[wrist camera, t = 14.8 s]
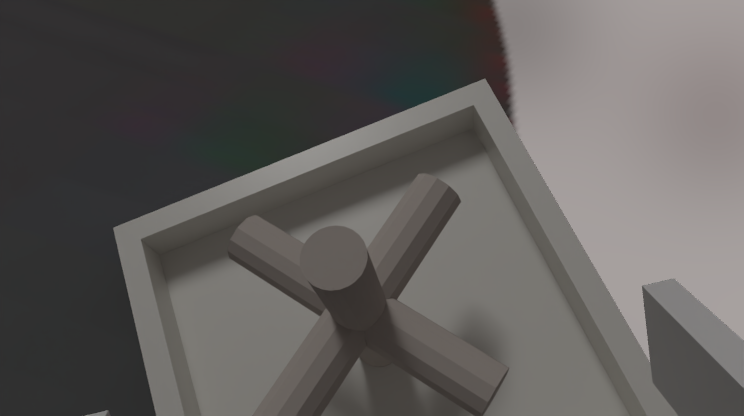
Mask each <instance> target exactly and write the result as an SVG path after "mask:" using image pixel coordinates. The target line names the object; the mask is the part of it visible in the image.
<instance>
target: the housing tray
mask: <svg viewBox="0 0 744 416" xmlns="http://www.w3.org/2000/svg"><path fill="white" fill-rule="evenodd" d="M418 174H429V175H431V176H434V177H436V178H438V179H440V180H441V181H443V182H444V183H446V184H447V185H449V186H450V187H451V188H452V189H453V190H454V191H455V192H456V193H457V194H458V196H459V198H460V200H461V203H460V204H459V206H458V207H457V209H456V210H455V212H454V213H453V215H452V216H451V218H450V219H449V221H448V222H447V224H446V226H445V227H444V229H443V230H442V232H441V233H440V235H439V236H438V238H437V239H436V241H435V242H434V244H433V245H432V247H431V248H430V250H429V251H428V253H427V254H426V256H425V258H424V259H423V261H422V262H421V264H420V265H419V267H418V268H417V270H416V271H415V273H414V274H413V276H412V277H411V279H410V280H409V282H408V283H407V285H406V287H405V288H404V290H403V291H402V293H401V294H400V296H399V297H398V299H397V300H398V301H400V302H402V303H403V304H405V305H406V306H408V307H410V308H411V309H413V310H415V311H416V312H418V313H420V314H421V315H423V316H425V317H426V318H428V319H430V320H431V321H433V322H435V323H436V324H438V325H440V326H441V327H443V328H444V329H446V330H448V331H449V332H451V333H453V334H454V335H456V336H458V337H459V338H461V339H463V340H464V341H466V342H468V343H469V344H471V345H473V346H474V347H476V348H478V349H479V350H481V351H483V352H484V353H486V354H487V355H489V356H491V357H492V358H494V359H496V360H497V361H499V362H501V363H502V364H504V365H506V366H507V367H509V371H508V373H507V375H506V377H505V379H504V381H503V383H502V384H501V386H500V388H499V390H498V392H497V393H496V395H495V397H494V399H493V400H492V402H491V404H490V405H489V407H488V409H487V410H486V412H485V413H484V415H483V416H678V415H677V413H676V412H675V411H674V409H673V408H672V407H671V406H670V404H669V403H668V402H667V401H666V399H665V398H664V397H663V395H662V394H661V393H660V392H659V390H658V389H657V388H656V386H655V385H654V384H653V381H652V372H651V364H650V362H649V360H648V359H647V357H646V355H645V354H644V352H643V350H642V348H641V347H640V345H639V343H638V341H637V340H636V338H635V336H634V335H633V333H632V331H631V329H630V328H629V326H628V324H627V322H626V321H625V319H624V317H623V316H622V314H621V312H620V310H619V309H618V307H617V305H616V303H615V302H614V300H613V298H612V297H611V295H610V293H609V291H608V290H607V288H606V286H605V285H604V283H603V281H602V279H601V278H600V276H599V274H598V273H597V271H596V269H595V267H594V266H593V264H592V262H591V260H590V259H589V257H588V255H587V254H586V252H585V250H584V248H583V247H582V245H581V243H580V242H579V240H578V238H577V236H576V235H575V233H574V231H573V229H572V228H571V226H570V224H569V222H568V221H567V219H566V217H565V216H564V214H563V212H562V210H561V209H560V207H559V205H558V203H557V202H556V200H555V198H554V197H553V195H552V193H551V191H550V190H549V188H548V186H547V185H546V183H545V181H544V179H543V178H542V176H541V174H540V172H539V171H538V169H537V167H536V166H535V164H534V162H533V161H532V159H531V157H530V155H529V154H528V152H527V150H526V149H525V147H524V145H523V143H522V141H521V140H520V138H519V136H518V135H517V133H516V131H515V129H514V128H513V126H512V124H511V123H510V121H509V119H508V117H507V116H506V114H505V112H504V110H503V109H502V107H501V105H500V104H499V102H498V100H497V98H496V97H495V95H494V93H493V92H492V90H491V88H490V86H489V85H488V83H487V81H486V79H483V80H480V81H478V82H475V83H473V84H470V85H468V86H466V87H463V88H461V89H458V90H456V91H453V92H451V93H448V94H446V95H443V96H441V97H438V98H436V99H433V100H431V101H428V102H426V103H423V104H421V105H418V106H416V107H413V108H411V109H408V110H406V111H403V112H401V113H398V114H396V115H393V116H391V117H388V118H386V119H383V120H381V121H378V122H376V123H373V124H371V125H368V126H366V127H363V128H361V129H358V130H356V131H353V132H351V133H348V134H346V135H343V136H341V137H338V138H336V139H333V140H331V141H328V142H326V143H323V144H321V145H318V146H316V147H313V148H311V149H308V150H306V151H304V152H301V153H299V154H296V155H294V156H291V157H289V158H286V159H284V160H281V161H279V162H276V163H274V164H271V165H269V166H266V167H264V168H261V169H259V170H256V171H254V172H251V173H249V174H246V175H244V176H241V177H239V178H236V179H234V180H231V181H229V182H226V183H224V184H221V185H219V186H216V187H214V188H211V189H209V190H206V191H204V192H201V193H199V194H196V195H194V196H191V197H189V198H186V199H184V200H181V201H179V202H176V203H174V204H171V205H169V206H166V207H164V208H161V209H159V210H156V211H154V212H151V213H149V214H147V215H144V216H142V217H139V218H137V219H134V220H132V221H129V222H127V223H124V224H122V225H119V226H117V227H114V228H113V229H114V234H115V238H116V242H117V247H118V251H119V255H120V260H121V264H122V268H123V273H124V277H125V281H126V286H127V290H128V295H129V299H130V303H131V308H132V312H133V316H134V321H135V325H136V329H137V334H138V338H139V342H140V347H141V351H142V355H143V360H144V364H145V368H146V373H147V377H148V381H149V386H150V390H151V395H152V399H153V403H154V408H155V412H156V416H252V415H253V414H254V412H255V411H256V409H257V408H258V406H259V405H260V403H261V402H262V400H263V399H264V398H265V396H266V395H267V393H268V392H269V390H270V389H271V387H272V386H273V384H274V383H275V382H276V380H277V379H278V377H279V376H280V374H281V373H282V371H283V370H284V368H285V367H286V366H287V364H288V363H289V361H290V360H291V358H292V357H293V355H294V354H295V352H296V351H297V350H298V348H299V347H300V345H301V344H302V342H303V341H304V339H305V338H306V337H307V335H308V334H309V332H310V331H311V329H312V328H313V326H314V325H315V323H316V322H317V321H318V319H319V318H320V316H318V315H317V314H315V313H314V312H312V311H311V310H309V309H308V308H306V307H305V306H303V305H301V304H300V303H298V302H297V301H295V300H294V299H292V298H291V297H289V296H287V295H286V294H284V293H283V292H281V291H280V290H278V289H277V288H275V287H273V286H272V285H270V284H269V283H267V282H266V281H264V280H263V279H261V278H259V277H258V276H256V275H255V274H253V273H252V272H250V271H249V270H247V269H245V268H244V267H242V266H241V265H239V264H238V263H236V262H235V261H233V260H231V259H230V258H229V255H228V251H227V250H228V246H229V242H230V239H231V237H232V236H233V234H234V232H235V230H236V229H237V227H238V226H239V225H240V224H241V223H242V222H243V221H244V220H245V219H246V218H248V217H251V216H253V215H257V216H259V217H261V218H263V219H264V220H266V221H268V222H269V223H271V224H273V225H274V226H276V227H278V228H279V229H281V230H283V231H284V232H286V233H287V234H289V235H291V236H292V237H294V238H296V239H297V240H299V241H301V242H302V243H304V244H305V242H306V240H307V239H308V238H309V237H310V236H311V235H312V234H313V233H315V232H316V231H318V230H319V229H322V228H325V227H328V226H336V225H337V226H344V227H347V228H349V229H352V230H354V231H355V232H356V233H357V234H359V235H360V237H361V238H362V239H363V241H364V242H365V245H366V248H368V246H369V245H370V244H371V242H372V241H373V239H374V238H375V236H376V235H377V233H378V232H379V230H380V229H381V228H382V226H383V225H384V223H385V222H386V220H387V219H388V217H389V216H390V214H391V213H392V212H393V210H394V209H395V207H396V206H397V204H398V203H399V201H400V200H401V199H402V197H403V196H404V194H405V193H406V191H407V190H408V188H409V187H410V185H411V184H412V183H413V181H414V180H415V178H416V177H417V175H418ZM321 416H474V415H472V414H471V413H469V412H468V411H466V410H465V409H463V408H462V407H460V406H458V405H457V404H455V403H454V402H452V401H451V400H449V399H448V398H446V397H444V396H443V395H441V394H440V393H438V392H437V391H435V390H434V389H432V388H430V387H429V386H427V385H426V384H424V383H423V382H421V381H420V380H418V379H416V378H415V377H413V376H412V375H410V374H409V373H407V372H406V371H404V370H402V369H401V368H399V367H398V366H396V365H395V364H393V363H391V364H389V365H387V366H384V367H373V366H370V365H368V364H366V363H365V362H364V361H363V360H362V359H361V358H360V357H359V358H358V360H357V361H356V363H355V364H354V366H353V367H352V369H351V370H350V372H349V373H348V375H347V376H346V378H345V379H344V381H343V383H342V384H341V386H340V387H339V389H338V390H337V392H336V393H335V395H334V396H333V398H332V399H331V401H330V402H329V404H328V405H327V407H326V408H325V410H324V411H323V413H322V415H321Z"/></svg>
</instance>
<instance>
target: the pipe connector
mask: <svg viewBox="0 0 744 416" xmlns="http://www.w3.org/2000/svg"><path fill="white" fill-rule="evenodd" d="M460 203H461V200H460V198H459V196H458V194H457V193H456V192H455V191H454V190H453V189H452V188H451V187H450V186H449V185H447V184H446V183H444V182H443V181H441V180H440V179H438V178H436V177H434V176H431V175H429V174H418V175H417V177H416V178H415V180H414V181H413V183H412V184H411V185H410V187H409V188H408V190H407V191H406V193H405V194H404V196H403V197H402V199H401V200H400V201H399V203H398V204H397V206H396V207H395V209H394V210H393V212H392V213H391V214H390V216H389V217H388V219H387V220H386V222H385V223H384V225H383V226H382V228H381V229H380V230H379V232H378V233H377V235H376V236H375V238H374V239H373V241H372V242H371V244H370V245H369V246H368V248H366V245H365V242H364V241H363V239H362V238H361V237H360V235H359V234H357V233H356V232H355V231H354V230H352V229H349V228H347V227H344V226H337V225H336V226H328V227H325V228H322V229H319V230H318V231H316V232H315V233H313V234H312V235H311V236H310V237H309V238H308V239H307V240H306V242H305V244H304V243H302V242H301V241H299V240H297V239H296V238H294V237H292V236H291V235H289V234H287V233H286V232H284V231H283V230H281V229H279V228H278V227H276V226H274V225H273V224H271V223H269V222H268V221H266V220H264V219H263V218H261V217H259V216H257V215H253V216H251V217H248V218H246V219H245V220H244V221H243V222H242V223H241V224H240V225H239V226H238V227H237V229H236V230H235V232H234V234H233V236H232V237H231V239H230V242H229V246H228V250H227V251H228V255H229V258H230V259H231V260H233V261H235V262H236V263H238V264H239V265H241V266H242V267H244V268H245V269H247V270H249V271H250V272H252V273H253V274H255V275H256V276H258V277H259V278H261V279H263V280H264V281H266V282H267V283H269V284H270V285H272V286H273V287H275V288H277V289H278V290H280V291H281V292H283V293H284V294H286V295H287V296H289V297H291V298H292V299H294V300H295V301H297V302H298V303H300V304H301V305H303V306H305V307H306V308H308V309H309V310H311V311H312V312H314V313H315V314H317V315H318V316H320V318H319V319H318V321H317V322H316V323H315V325H314V326H313V328H312V329H311V331H310V332H309V334H308V335H307V337H306V338H305V339H304V341H303V342H302V344H301V345H300V347H299V348H298V350H297V351H296V352H295V354H294V355H293V357H292V358H291V360H290V361H289V363H288V364H287V366H286V367H285V368H284V370H283V371H282V373H281V374H280V376H279V377H278V379H277V380H276V382H275V383H274V384H273V386H272V387H271V389H270V390H269V392H268V393H267V395H266V396H265V398H264V399H263V400H262V402H261V403H260V405H259V406H258V408H257V409H256V411H255V412H254V414H253V415H252V416H321V415H322V413H323V411H324V410H325V408H326V407H327V405H328V404H329V402H330V401H331V399H332V398H333V396H334V395H335V393H336V392H337V390H338V389H339V387H340V386H341V384H342V383H343V381H344V379H345V378H346V376H347V375H348V373H349V372H350V370H351V369H352V367H353V366H354V364H355V363H356V361H357V360H358V358H359V357H360V358H361V359H362V360H363V361H364V362H365V363H366V364H368V365H370V366H373V367H384V366H387V365H389V364H391V363H393V364H395V365H396V366H398V367H399V368H401V369H402V370H404V371H406V372H407V373H409V374H410V375H412V376H413V377H415V378H416V379H418V380H420V381H421V382H423V383H424V384H426V385H427V386H429V387H430V388H432V389H434V390H435V391H437V392H438V393H440V394H441V395H443V396H444V397H446V398H448V399H449V400H451V401H452V402H454V403H455V404H457V405H458V406H460V407H462V408H463V409H465V410H466V411H468V412H469V413H471V414H472V415H474V416H483V415H484V413H485V412H486V410H487V409H488V407H489V405H490V404H491V402H492V400H493V399H494V397H495V395H496V393H497V392H498V390H499V388H500V386H501V384H502V383H503V381H504V379H505V377H506V375H507V373H508V371H509V367H507V366H506V365H504V364H502V363H501V362H499V361H497V360H496V359H494V358H492V357H491V356H489V355H487V354H486V353H484V352H483V351H481V350H479V349H478V348H476V347H474V346H473V345H471V344H469V343H468V342H466V341H464V340H463V339H461V338H459V337H458V336H456V335H454V334H453V333H451V332H449V331H448V330H446V329H444V328H443V327H441V326H440V325H438V324H436V323H435V322H433V321H431V320H430V319H428V318H426V317H425V316H423V315H421V314H420V313H418V312H416V311H415V310H413V309H411V308H410V307H408V306H406V305H405V304H403V303H402V302H400V301H398V300H397V299H398V297H399V296H400V294H401V293H402V291H403V290H404V288H405V287H406V285H407V283H408V282H409V280H410V279H411V277H412V276H413V274H414V273H415V271H416V270H417V268H418V267H419V265H420V264H421V262H422V261H423V259H424V258H425V256H426V254H427V253H428V251H429V250H430V248H431V247H432V245H433V244H434V242H435V241H436V239H437V238H438V236H439V235H440V233H441V232H442V230H443V229H444V227H445V226H446V224H447V222H448V221H449V219H450V218H451V216H452V215H453V213H454V212H455V210H456V209H457V207H458V206H459V204H460Z"/></svg>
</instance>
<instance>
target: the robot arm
mask: <svg viewBox="0 0 744 416" xmlns="http://www.w3.org/2000/svg"><path fill="white" fill-rule="evenodd" d="M642 289H643V298H644V307H645V317H646V326H647V335H648V345H649V354H650V363H651V372H652V381H653V384H654V385H655V386H656V388H657V389H658V390H659V392H660V393H661V394H662V395H663V397H664V398H665V399H666V401H667V402H668V403H669V404H670V406H671V407H672V408H673V409H674V411H675V412H676V413H677V415H678V416H744V341H743V340H742V339H741V338H740V337H739V336H738V335H737V334H736V333H734V332H733V331H732V330H731V329H730V328H729V327H728V326H727V325H725V324H724V323H723V322H722V321H721V320H720V319H719V318H718V317H717V316H715V315H714V314H713V313H712V312H711V311H710V310H709V309H707V308H706V307H705V306H704V305H703V304H702V303H701V302H700V301H699V300H697V299H696V298H695V297H694V296H693V295H692V294H691V293H690V292H688V291H687V290H686V289H685V288H684V287H683V286H682V285H681V284H679V283H678V282H677V281H676V280H675V279H669V280H665V281H661V282H657V283H652V284H648V285H644V286H642ZM86 416H110V413H109V411H108V410H107V411H103V412H99V413H94V414H90V415H86Z"/></svg>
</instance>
